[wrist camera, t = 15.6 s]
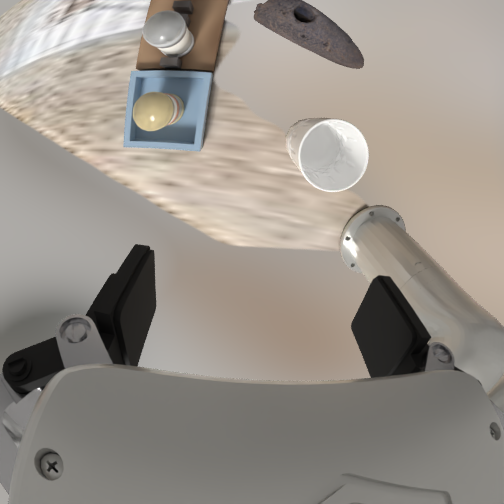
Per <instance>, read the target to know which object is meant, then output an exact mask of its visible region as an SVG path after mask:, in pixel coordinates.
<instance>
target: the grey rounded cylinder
mask: <svg viewBox="0 0 504 504" xmlns="http://www.w3.org/2000/svg"><path fill="white" fill-rule="evenodd" d="M143 37H144V39H145V40H146V41H147V42H148V43H149V44H151V45H152V46H154V47H156V48H158V49H159V50H161V52H162V53H163V54H165V55H166V56H168V57H178V58H181V57H184V56H186V55H187V54H189V53H190V52H191V50H192V49H193V47H194V44H195V40H194V37H193V35H192V33H191V32H190V31H189V30H188V28H187V26H186V22H185V21H184V19H183V17H182V16H181V15H180V14H179V13H177V12H175V11H169V10H167V11H161V12H158V13H156V14H154V15H153V16H151V17H150V18H149V19H148V20H147V21H146V23H145V25H144V27H143Z"/></svg>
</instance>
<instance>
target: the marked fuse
mask: <svg viewBox="0 0 504 504" xmlns="http://www.w3.org/2000/svg"><path fill="white" fill-rule="evenodd" d="M184 111H185V105H184V102H183V100H182V99H181V98H180V97H179V96H177V95H175V94H169V93H162V92H148V93H146V94H144V95H142V96H141V97H140V98H139V99H138V100H137V101H136V103H135V105H134V108H133V118H134V121H135V123H136V124H137V125H138V126H139V127H140V128H141V129H143V130H146V131H155V130H158V129H161V128H163V127H165V126H167V125H171V124H174V123H176V122H177V121H179V120H180V119H181V118H182V116H183V114H184Z"/></svg>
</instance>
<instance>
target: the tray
mask: <svg viewBox="0 0 504 504" xmlns="http://www.w3.org/2000/svg"><path fill="white" fill-rule="evenodd" d="M212 79H213V74H212V73H208V72H194V71H165V70H155V71H131V76H130V83H129V91H128V99H127V108H126V118H125V131H124V147H138V148H160V149H176V150H189V151H201V149H202V147H203V139H204V131H205V124H206V117H207V110H208V104H209V97H210V91H211V85H212ZM148 92H162V93H169V94H175V95H177V96H179V97H180V98H181V99H182V100H183V102H184V105H185V111H184V114H183V116H182V118H181V119H180V120H179V121H177V122H176V123H174V124H171V125H167V126H165V127H163V128H161V129H158V130H155V131H146V130H143V129H141V128H140V127H139V126H138V125H137V124H136V123H135V121H134V118H133V108H134V105H135V103H136V101H137V100H138V99H139V98H140V97H141V96H142V95H144V94H146V93H148Z"/></svg>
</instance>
